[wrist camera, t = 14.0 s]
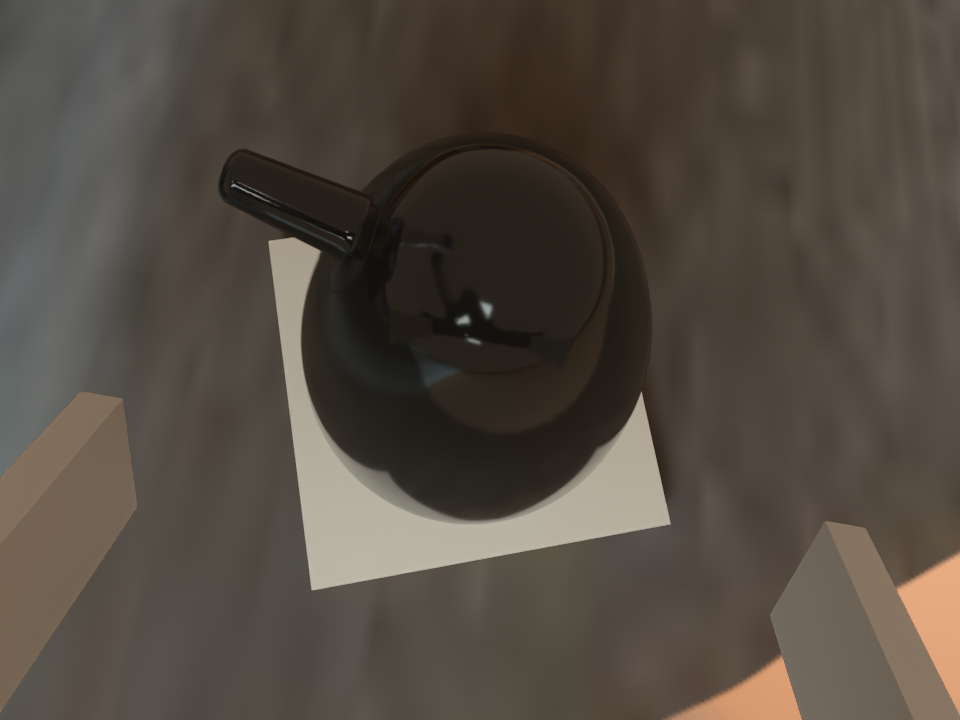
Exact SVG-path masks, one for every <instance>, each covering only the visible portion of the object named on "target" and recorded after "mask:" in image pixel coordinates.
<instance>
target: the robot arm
mask: <svg viewBox="0 0 960 720" xmlns="http://www.w3.org/2000/svg"><path fill="white" fill-rule="evenodd" d="M136 508H137V500H136V493H135V486H134V478H133V471H132V463H131V456H130V448H129V441H128V434H127V426H126V419H125V411H124V404H123V399H122V398H116V397H111V396H105V395H99V394H93V393H88V392H82V391H81V392H80V393H79V394H78V395H77V396H76V397H75V398H74V399H73V400H72V401H71V402H70V403H69V405H68V406H67V407H66V408H65V409H64V410H63V411H62V412H61V413H60V414H59V415H58V416H57V417H56V418H55V419H54V421H53V422H52V423H51V424H50V425H49V426H48V427H47V428H46V429H45V430H44V431H43V432H42V433H41V434H40V435H39V437H38V438H37V439H36V440H35V441H34V442H33V443H32V444H31V445H30V446H29V447H28V448H27V449H26V450H25V452H24V453H23V454H22V455H21V456H20V457H19V458H18V459H17V460H16V461H15V462H14V463H13V464H12V465H11V466H10V468H9V469H8V470H7V471H6V472H5V473H4V474H3V475H2V476H1V477H0V712H1V711H2V709H3V708H4V706H5V705H6V703H7V702H8V700H9V699H10V697H11V696H12V694H13V693H14V691H15V690H16V688H17V687H18V685H19V684H20V682H21V681H22V679H23V678H24V676H25V675H26V673H27V672H28V670H29V669H30V667H31V666H32V664H33V663H34V661H35V660H36V658H37V657H38V655H39V654H40V652H41V651H42V649H43V648H44V646H45V645H46V643H47V642H48V640H49V639H50V637H51V636H52V634H53V633H54V631H55V630H56V628H57V627H58V625H59V624H60V622H61V621H62V619H63V618H64V616H65V615H66V613H67V612H68V610H69V609H70V607H71V606H72V604H73V603H74V601H75V600H76V598H77V597H78V595H79V594H80V592H81V591H82V589H83V588H84V586H85V585H86V583H87V582H88V580H89V579H90V577H91V576H92V574H93V573H94V571H95V570H96V568H97V567H98V565H99V564H100V562H101V561H102V559H103V558H104V556H105V555H106V553H107V552H108V550H109V549H110V547H111V546H112V544H113V543H114V541H115V540H116V538H117V537H118V535H119V534H120V532H121V531H122V529H123V528H124V526H125V525H126V523H127V522H128V520H129V519H130V517H131V516H132V514H133V513H134V511H135V510H136ZM770 618H771V621H772V624H773V627H774V631H775V634H776V637H777V640H778V644H779V647H780V650H781V653H782V656H783V660H784V663H785V666H786V669H787V673H788V676H789V679H790V682H791V685H792V689H793V692H794V695H795V698H796V702H797V705H798V708H799V711H800V714H801V718H802V720H960V715H959V713H958V711H957V709H956V707H955V705H954V703H953V701H952V699H951V697H950V695H949V693H948V691H947V689H946V688H945V685H944V683H943V681H942V679H941V677H940V675H939V673H938V672H937V669H936V667H935V666H934V664H933V661H932V659H931V658H930V656H929V654H928V652H927V650H926V648H925V646H924V644H923V642H922V640H921V638H920V636H919V634H918V632H917V630H916V628H915V626H914V624H913V622H912V620H911V618H910V616H909V614H908V612H907V610H906V608H905V606H904V604H903V602H902V600H901V598H900V596H899V594H898V592H897V590H896V588H895V586H894V584H893V582H892V580H891V578H890V576H889V574H888V572H887V570H886V568H885V566H884V564H883V562H882V560H881V558H880V556H879V554H878V552H877V550H876V548H875V546H874V544H873V542H872V540H871V538H870V536H869V534H868V532H867V531H866V529H865V528H863V527H857V526H851V525H845V524H840V523H834V522H828V521H825V522H824V524H823V525H822V527H821V529H820V531H819V532H818V534H817V536H816V537H815V539H814V541H813V542H812V544H811V546H810V548H809V549H808V551H807V553H806V554H805V556H804V558H803V559H802V561H801V563H800V565H799V566H798V568H797V570H796V571H795V573H794V575H793V576H792V578H791V580H790V582H789V583H788V585H787V587H786V588H785V590H784V592H783V593H782V595H781V597H780V598H779V600H778V602H777V604H776V605H775V607H774V609H773V610H772V612H771V614H770Z"/></svg>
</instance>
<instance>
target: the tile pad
mask: <svg viewBox="0 0 960 720" xmlns="http://www.w3.org/2000/svg"><path fill="white" fill-rule="evenodd" d="M268 242H269V250H270V258H271V266H272V274H273V282H274V290H275V298H276V306H277V314H278V322H279V330H280V338H281V346H282V354H283V362H284V370H285V378H286V387H287V395H288V403H289V411H290V419H291V427H292V435H293V443H294V451H295V459H296V467H297V475H298V483H299V491H300V499H301V507H302V515H303V524H304V532H305V540H306V548H307V556H308V564H309V572H310V580H311V588H312V590H316V589H322V588H327V587H333V586H338V585H344V584H349V583H354V582H360V581H365V580H371V579H376V578H382V577H387V576H392V575H398V574H403V573H409V572H414V571H420V570H425V569H430V568H436V567H441V566H447V565H452V564H458V563H463V562H468V561H474V560H479V559H485V558H490V557H496V556H501V555H506V554H512V553H517V552H523V551H528V550H533V549H539V548H544V547H550V546H555V545H561V544H566V543H571V542H577V541H582V540H588V539H593V538H599V537H604V536H609V535H615V534H620V533H626V532H631V531H637V530H642V529H647V528H653V527H658V526H664V525H669V524H670V519H669V515H668V510H667V505H666V501H665V496H664V492H663V487H662V483H661V478H660V474H659V469H658V464H657V460H656V455H655V451H654V446H653V442H652V437H651V433H650V428H649V423H648V419H647V414H646V410H645V405H644V401H643V396H642V392H641V394H640V397H639V399H638V402H637V405H636V407H635V409H634V411H633V414H632V416H631V418H630V420H629V422H628V424H627V425H626V427H625V429H624V431H623V432H622V434H621V436H620V437H619V439H618V440H617V442H616V443H615V445H614V446H613V447H612V449H611V450H610V451H609V453H608V454H607V455H606V457H605V458H604V459H603V460H602V462H601V463H600V464H599V465H598V466H597V467H596V468H595V470H594V471H593V472H592V473H591V474H590V475H589V476H588V477H587V478H586V479H584V480H583V481H582V482H581V483H580V484H579V485H578V486H576V487H575V488H574V489H573V490H571V491H570V492H569V493H567V494H566V495H564V496H563V497H561V498H560V499H558V500H556V501H555V502H553V503H551V504H549V505H547V506H545V507H543V508H541V509H539V510H537V511H535V512H532V513H530V514H527V515H524V516H521V517H518V518H514V519H510V520H506V521H501V522H495V523H488V524H453V523H445V522H439V521H435V520H430V519H427V518H423V517H420V516H417V515H414V514H412V513H409V512H406V511H404V510H402V509H400V508H398V507H396V506H394V505H392V504H390V503H388V502H387V501H385V500H383V499H382V498H380V497H379V496H377V495H376V494H374V493H373V492H372V491H370V490H369V489H368V488H367V487H365V486H364V485H363V484H362V483H361V482H360V481H358V480H357V479H356V478H355V477H354V476H353V475H352V474H351V473H350V472H349V471H348V469H347V468H346V467H345V466H344V465H343V464H342V462H341V461H340V460H339V459H338V457H337V456H336V455H335V453H334V452H333V450H332V449H331V447H330V446H329V444H328V442H327V441H326V439H325V437H324V435H323V433H322V431H321V429H320V427H319V425H318V423H317V420H316V418H315V415H314V412H313V410H312V407H311V403H310V400H309V397H308V393H307V388H306V384H305V379H304V374H303V367H302V359H301V343H300V333H301V317H302V309H303V303H304V298H305V293H306V289H307V285H308V281H309V278H310V275H311V272H312V269H313V266H314V264H315V261H316V258H317V256H318V254H319V252H320V251H319V250H317V249H316V248H314V247H312V246H310V245H308V244H306V243H304V242H302V241H300V240H298V239H296V238H294V237H293V238H286V239H279V240H272V241H268Z"/></svg>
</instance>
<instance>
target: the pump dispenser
mask: <svg viewBox="0 0 960 720" xmlns="http://www.w3.org/2000/svg"><path fill="white" fill-rule="evenodd" d="M218 191H219V195H220V197H221V198H222V200H223V201H224V202H225V203H227V204H229V205H231V206H233V207H235V208H237V209H239V210H241V211H243V212H245V213H247V214H249V215H251V216H253V217H255V218H256V219H258V220H260V221H262V222H264V223H266V224H268V225H270V226H272V227H274V228H276V229H278V230H280V231H282V232H284V233H286V234H288V235H290V236H292V237H294V238H296V239H298V240H300V241H302V242H304V243H306V244H308V245H310V246H312V247H314V248H316V249H317V250H319V251H320V252H319V254H318V256H317V258H316V261H315V264H314V266H313V269H312V272H311V275H310V278H309V281H308V285H307V289H306V293H305V298H304V303H303V309H302V317H301V333H300V343H301V359H302V367H303V374H304V379H305V384H306V388H307V393H308V397H309V400H310V403H311V407H312V410H313V412H314V415H315V418H316V420H317V423H318V425H319V427H320V429H321V431H322V433H323V435H324V437H325V439H326V441H327V442H328V444H329V446H330V447H331V449H332V450H333V452H334V453H335V455H336V456H337V457H338V459H339V460H340V461H341V462H342V464H343V465H344V466H345V467H346V468H347V469H348V471H349V472H350V473H351V474H352V475H353V476H354V477H355V478H356V479H357V480H358V481H360V482H361V483H362V484H363V485H364V486H365V487H367V488H368V489H369V490H370V491H372V492H373V493H374V494H376V495H377V496H379V497H380V498H382V499H383V500H385V501H387V502H388V503H390V504H392V505H394V506H396V507H398V508H400V509H402V510H404V511H406V512H409V513H412V514H414V515H417V516H420V517H423V518H427V519H430V520H435V521H439V522H445V523H453V524H488V523H495V522H501V521H506V520H510V519H514V518H518V517H521V516H524V515H527V514H530V513H532V512H535V511H537V510H539V509H541V508H543V507H545V506H547V505H549V504H551V503H553V502H555V501H556V500H558V499H560V498H561V497H563V496H564V495H566V494H567V493H569V492H570V491H571V490H573V489H574V488H575V487H576V486H578V485H579V484H580V483H581V482H582V481H583V480H584V479H586V478H587V477H588V476H589V475H590V474H591V473H592V472H593V471H594V470H595V468H596V467H597V466H598V465H599V464H600V463H601V462H602V460H603V459H604V458H605V457H606V455H607V454H608V453H609V451H610V450H611V449H612V447H613V446H614V445H615V443H616V442H617V440H618V439H619V437H620V436H621V434H622V432H623V431H624V429H625V427H626V425H627V424H628V422H629V420H630V418H631V416H632V414H633V411H634V409H635V407H636V405H637V402H638V399H639V397H640V394H641V391H642V388H643V385H644V381H645V377H646V373H647V369H648V364H649V358H650V350H651V339H652V313H651V301H650V294H649V287H648V282H647V277H646V273H645V268H644V265H643V261H642V258H641V254H640V251H639V248H638V246H637V243H636V240H635V238H634V235H633V233H632V231H631V229H630V226H629V224H628V222H627V220H626V218H625V217H624V215H623V213H622V211H621V210H620V208H619V206H618V205H617V203H616V202H615V201H614V199H613V198H612V196H611V195H610V194H609V192H608V191H607V190H606V189H605V188H604V186H603V185H602V184H601V183H600V182H599V181H598V180H597V179H596V178H595V177H594V176H593V175H592V174H591V173H590V172H589V171H587V170H586V169H585V168H584V167H583V166H581V165H580V164H579V163H577V162H576V161H575V160H573V159H572V158H570V157H569V156H567V155H565V154H564V153H562V152H560V151H558V150H556V149H555V148H552V147H550V146H548V145H546V144H543V143H541V142H538V141H535V140H532V139H529V138H525V137H521V136H517V135H512V134H505V133H493V132H479V133H467V134H460V135H455V136H450V137H446V138H443V139H439V140H436V141H433V142H430V143H428V144H425V145H423V146H421V147H418V148H416V149H414V150H412V151H410V152H409V153H407V154H405V155H404V156H402V157H400V158H399V159H397V160H396V161H395V162H393V163H392V164H390V165H389V166H388V167H387V168H385V169H384V170H383V171H382V172H380V173H379V174H378V175H377V176H376V177H375V178H374V179H373V180H371V181H370V182H369V183H368V184H367V185H366V186H365V187H364V188H363V189H362V190H361V191H357V190H354V189H352V188H349V187H346V186H344V185H341V184H338V183H335V182H333V181H330V180H327V179H325V178H322V177H319V176H317V175H314V174H311V173H309V172H306V171H303V170H301V169H298V168H295V167H293V166H290V165H287V164H285V163H282V162H279V161H277V160H274V159H271V158H268V157H266V156H263V155H260V154H258V153H255V152H252V151H250V150H247V149H239V150H236V151H234V152H233V153H232V154H230V156H229V157H228V158H227V160H226V161H225V163H224V165H223V168H222V170H221V173H220V176H219V180H218Z"/></svg>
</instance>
